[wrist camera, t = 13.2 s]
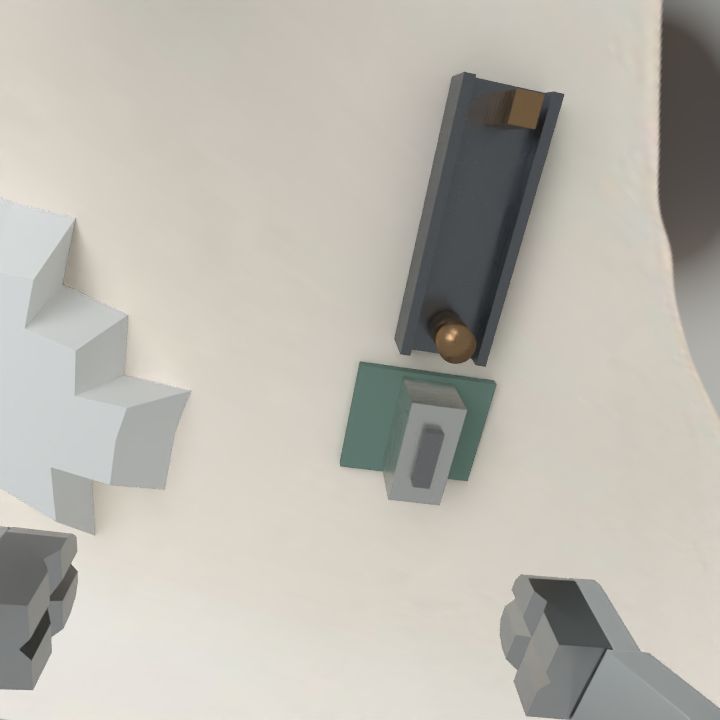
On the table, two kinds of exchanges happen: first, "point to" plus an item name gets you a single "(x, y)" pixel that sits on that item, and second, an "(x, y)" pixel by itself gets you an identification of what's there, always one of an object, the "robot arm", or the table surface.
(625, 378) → the table surface
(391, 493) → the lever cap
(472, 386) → the rubber mat
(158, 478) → the white jagged cross block
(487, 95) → the dark grey channel holder
